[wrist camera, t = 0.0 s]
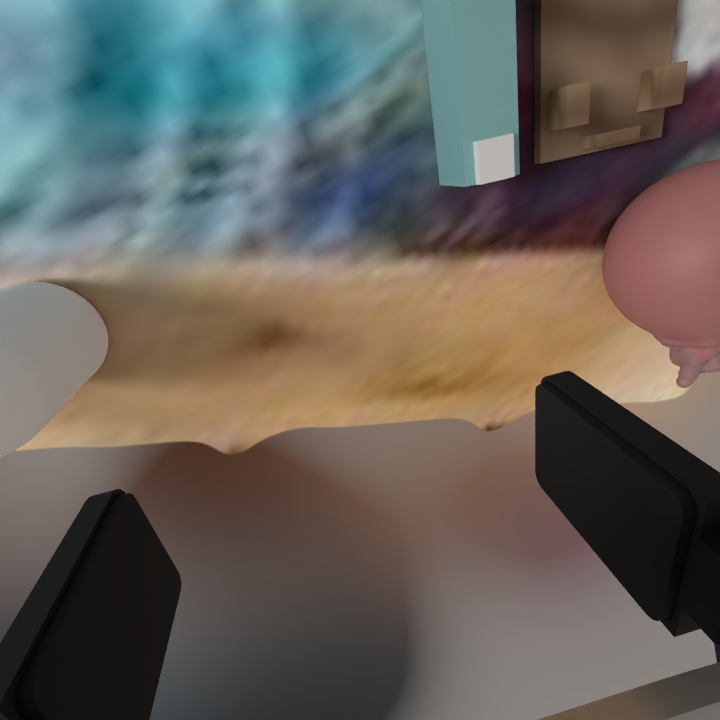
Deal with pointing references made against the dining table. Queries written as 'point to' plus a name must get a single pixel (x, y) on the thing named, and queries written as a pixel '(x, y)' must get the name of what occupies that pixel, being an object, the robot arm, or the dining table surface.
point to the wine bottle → (43, 355)
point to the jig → (602, 74)
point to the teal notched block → (473, 88)
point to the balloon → (672, 266)
